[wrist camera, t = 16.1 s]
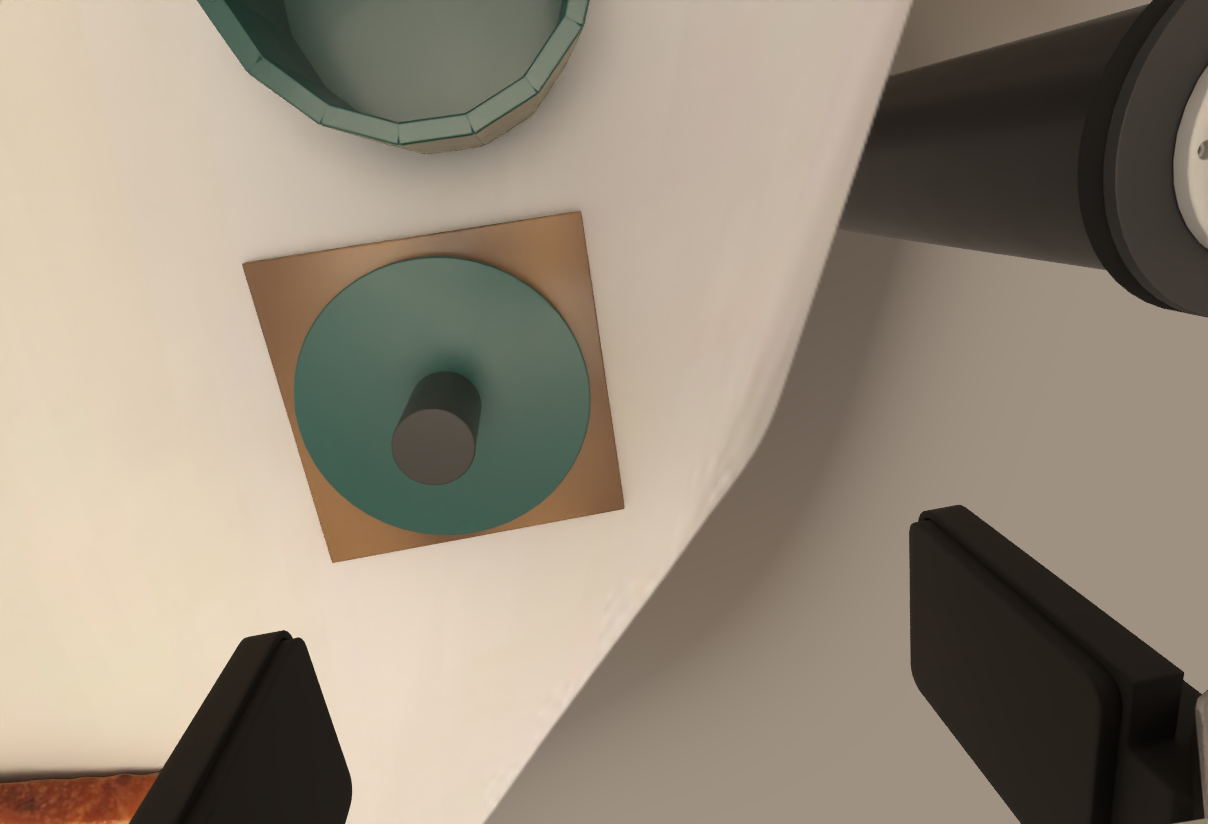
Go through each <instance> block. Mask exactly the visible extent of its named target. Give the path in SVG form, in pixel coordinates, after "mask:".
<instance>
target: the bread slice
mask: <svg viewBox="0 0 1208 824" xmlns="http://www.w3.org/2000/svg"><path fill="white" fill-rule="evenodd" d="M159 773H160V772H156V773H152V774H147V775H134V774H125V773H123V774H118V775H115V776H110V777H89V776H86V777H80V778H75V779H42V780H31V781H24V782H13V783H0V824H129V822H130V820H131V819H132V817H133V816H134V814H135V812H136V811H137V809H138V807H139V806H140V804H141V803H142V801H143V799H144V798H145V796H146V795H147V793H148V791H149V790H150V788H151V786H152V785H153V783H154V782H155V780H156V778H157V777H158V775H159Z"/></svg>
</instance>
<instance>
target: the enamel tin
mask: <svg viewBox="0 0 1208 824" xmlns="http://www.w3.org/2000/svg"><path fill="white" fill-rule="evenodd" d="M197 1H198V3H199V4H200V6H201V7H202V9H203V10H204V11H205V13H206V14H207V16H208V17H209V19H210V20H211V21H212V23H213V24H214V26H215V27H216V29H217V30H218V31H219V33H220V34H221V36H222V37H223V39H224V40H225V41H226V43H227V44H228V46H229V47H230V49H231V50H232V51H233V53H234V54H235V56H236V57H237V59H238V60H239V61H240V63H241V64H242V66H243V67H244V69H245V70H246V71H247V72H248V73H249V74H250V75H251V76H253V77H254V78H255V79H257V80H258V81H260V82H261V83H262V84H264V85H265V86H267V87H268V88H269V89H271V90H272V91H273V92H275V93H276V94H278V95H279V96H280V97H282V98H283V99H285V100H286V101H287V102H289V103H290V104H291V105H293V106H294V107H296V108H297V109H298V110H300V111H301V112H303V113H304V114H305V115H307V116H308V117H310V118H311V119H312V120H314V121H315V122H316V123H318V124H320V125H322V126H325V127H329V128H332V129H336V130H339V131H342V132H346V133H349V134H353V135H356V136H360V137H363V138H366V139H370V140H374V141H377V142H381V143H385V144H389V145H393V146H396V147H400V148H404V149H408V150H411V151H415V152H419V153H423V154H432V153H439V152H446V151H457V150H461V149H467V148H473V147H480V146H483V145H486V144H488V143H489V142H491V141H492V140H494V139H495V138H497V137H499V136H500V135H502V134H504V133H506V132H508V131H509V130H510V129H512V128H513V127H514V126H516V125H517V124H519V123H520V122H522V121H524V120H525V119H527V118H528V117H530V116H531V115H532V114H533V113H534V112H535V110H536V109H537V107H538V106H539V104H540V103H541V101H542V100H543V98H544V97H545V95H546V94H547V93H548V91H549V90H550V88H551V86H552V85H553V83H554V82H555V80H556V79H557V77H558V76H559V74H560V73H561V72H562V70H563V69H564V67H565V65H566V63H567V61H568V59H569V57H570V55H571V52H572V50H573V48H574V46H575V44H576V42H577V40H578V37H579V35H580V33H581V31H582V29H583V26H584V23H585V19H586V14H587V10H588V5H589V1H590V0H197Z"/></svg>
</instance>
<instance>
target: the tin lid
mask: <svg viewBox="0 0 1208 824" xmlns="http://www.w3.org/2000/svg"><path fill="white" fill-rule="evenodd" d="M293 394H294V406H295V414H296V419H297V423H298V427H299V431H300V434H301V436H302V439H303V442H304V444H305V447H306V449H307V451H308V453H309V455H310V456H311V458H312V460H313V462H314V464H315V465H316V467H317V468H318V469H319V471H320V472H321V474H322V475H323V476H324V478H325V479H326V480H327V481H328V482H329V483H330V485H331V486H332V487H333V488H334V489H335V490H336V491H337V492H338V493H339V494H340V495H341V496H343V497H344V498H345V499H346V500H347V501H349V502H350V503H351V504H352V505H354V506H355V507H357V508H358V509H360V510H361V511H363V512H365V513H366V514H368V515H370V516H372V517H374V518H376V519H378V520H380V521H382V522H384V523H386V524H389V525H392V526H395V527H398V528H400V529H404V530H408V531H413V532H417V533H423V534H432V535H461V534H469V533H476V532H480V531H484V530H488V529H492V528H495V527H498V526H500V525H503V524H506V523H508V522H510V521H512V520H514V519H516V518H518V517H520V516H522V515H524V514H526V513H527V512H528V511H530V510H531V509H533V508H534V507H536V506H537V505H539V504H540V503H541V502H542V501H543V500H544V499H546V498H547V497H548V496H549V495H550V494H551V493H552V492H553V491H554V490H555V489H556V488H557V487H558V485H559V484H560V483H561V482H562V481H563V480H564V478H565V477H566V475H567V474H568V472H569V471H570V469H571V468H572V466H573V465H574V463H575V461H576V459H577V457H578V455H579V452H580V450H581V448H582V445H583V442H584V439H585V436H586V433H587V428H588V423H589V417H590V402H591V395H590V384H589V377H588V372H587V368H586V364H585V360H584V358H583V355H582V352H581V350H580V347H579V344H578V342H577V340H576V338H575V336H574V335H573V333H572V331H571V329H570V327H569V326H568V324H567V323H566V321H565V320H564V319H563V317H562V316H561V314H560V313H559V312H558V310H557V309H556V308H555V307H554V306H553V305H552V304H551V303H550V302H549V301H548V300H547V299H546V298H545V297H544V296H543V295H542V294H541V293H539V292H538V291H537V290H536V289H535V288H533V287H532V286H531V285H530V284H528V283H526V282H525V281H523V280H522V279H520V278H518V277H517V276H515V275H514V274H512V273H509V272H507V271H505V270H503V269H501V268H498V267H496V266H494V265H491V264H487V263H484V262H481V261H478V260H474V259H468V258H462V257H456V256H424V257H414V258H409V259H405V260H400V261H396V262H393V263H390V264H388V265H385V266H382V267H379V268H377V269H375V270H373V271H371V272H369V273H367V274H365V275H364V276H362V277H360V278H358V279H357V280H355V281H354V282H352V283H351V284H350V285H348V286H347V287H346V288H344V289H343V290H342V291H340V292H339V293H338V294H337V295H336V296H335V297H334V298H333V299H332V300H331V301H330V302H329V303H328V304H327V305H326V306H325V308H324V309H323V310H322V312H321V313H320V314H319V315H318V317H317V318H316V319H315V321H314V323H313V324H312V326H311V328H310V330H309V332H308V333H307V335H306V337H305V340H304V342H303V345H302V348H301V350H300V353H299V356H298V360H297V365H296V370H295V376H294V391H293Z"/></svg>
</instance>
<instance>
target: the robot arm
mask: <svg viewBox="0 0 1208 824" xmlns="http://www.w3.org/2000/svg"><path fill="white" fill-rule="evenodd" d="M1173 167H1174V188H1175V193H1176V198H1177V202H1178V207H1179V209H1180V212H1181V214H1182V216H1183V219H1184V221H1185V223H1186V225H1187V227H1188V229H1189V230H1190V231H1191V232H1192V234H1193V235H1194V236H1195V238H1196V239H1197V240H1198V242H1199V243H1200V244H1202V245H1203V246H1204V247H1205V248H1207V249H1208V66H1207V67H1206V69H1205V70H1204V72H1203V73H1202V75H1201V76H1200V78H1199V79H1198V81H1197V84H1196V86H1195V88H1194V90H1193V92H1192V94H1191V96H1190V98H1189V100H1188V102H1187V105H1186V107H1185V110H1184V113H1183V117H1182V120H1181V123H1180V126H1179V129H1178V133H1177V139H1176V145H1175V152H1174V159H1173ZM909 546H910V547H909V553H910V635H911V636H910V641H911V642H910V644H911V670H912V675H913V677H914V680H915V683H916V685H917V687H918V689H919V690H920V692H921V693H922V694H923V696H924V697H925V698H926V700H927V701H928V702H929V703H930V705H931V706H932V707H933V709H934V710H935V711H936V713H937V714H938V715H939V717H940V718H941V719H942V721H943V722H944V723H945V725H946V726H947V727H948V728H949V730H950V731H951V732H952V734H953V735H954V736H955V738H956V739H957V740H958V741H959V743H960V744H961V745H962V747H963V748H964V749H965V751H966V752H967V753H968V755H969V756H970V757H971V758H972V760H973V761H974V762H975V764H976V765H977V766H978V768H979V769H980V770H981V772H982V773H983V774H984V775H985V777H986V778H987V779H988V781H989V782H990V783H991V785H992V786H993V787H994V789H995V790H996V791H997V793H998V794H999V795H1000V797H1001V798H1002V799H1003V800H1004V802H1005V803H1006V804H1007V806H1008V807H1009V808H1010V810H1011V811H1012V812H1013V814H1014V815H1015V816H1016V818H1017V819H1018V820H1019V821H1020V823H1021V824H1208V690H1207V691H1206V692H1205V693H1203V694H1201V693H1199V692H1198V691H1197V690H1196V689H1194V688H1193V687H1192V686H1190V685H1189V684H1188V683H1186V682H1185V681H1184V680H1183V677H1184V672H1183V671H1182V670H1180V669H1179V668H1178V667H1176V666H1175V665H1174V664H1172V663H1171V662H1170V661H1168V660H1167V659H1166V658H1164V657H1163V656H1162V655H1161V654H1159V653H1158V652H1157V651H1155V650H1154V649H1153V648H1151V647H1150V646H1149V645H1147V644H1146V643H1145V642H1143V641H1142V640H1141V639H1139V638H1138V637H1137V636H1135V635H1134V634H1133V633H1131V632H1130V631H1129V630H1127V629H1126V628H1125V627H1123V626H1122V625H1121V624H1119V623H1118V622H1117V621H1115V620H1114V619H1113V618H1111V617H1110V616H1109V615H1108V614H1106V613H1105V612H1104V611H1102V610H1101V609H1099V608H1098V607H1097V606H1096V605H1094V604H1093V603H1091V602H1090V601H1089V600H1088V599H1086V598H1085V597H1084V596H1082V595H1081V594H1080V593H1078V592H1077V591H1076V590H1074V589H1073V588H1072V587H1070V586H1069V585H1068V584H1066V583H1065V582H1064V581H1062V580H1061V579H1060V578H1058V577H1057V576H1056V575H1054V574H1053V573H1052V572H1051V571H1049V570H1048V569H1046V568H1045V567H1044V566H1043V565H1041V564H1040V563H1038V562H1037V561H1036V560H1035V559H1033V558H1032V557H1031V556H1029V555H1028V554H1027V553H1025V552H1024V551H1023V550H1021V549H1020V548H1019V547H1017V546H1016V545H1015V544H1013V543H1012V542H1011V541H1009V540H1008V539H1007V538H1005V537H1004V536H1003V535H1001V534H1000V533H998V531H996V530H995V529H994V528H992V527H991V526H989V525H988V524H987V523H985V522H984V521H983V520H982V519H980V518H979V517H978V516H976V515H975V514H974V513H972V512H971V511H969V510H968V509H967V508H966V507H964V506H962V505H955V506H950V507H945V508H939V509H933V510H928V511H923V512H922V513H921V514H920V517H919V520H918V522H915V523H913V524H911V526H910V531H909ZM351 800H352V782H351V777H350V773H349V770H348V767H347V764H346V761H345V759H344V756H343V753H342V750H341V747H340V744H339V741H338V738H337V735H336V732H335V729H334V726H333V723H332V720H331V717H330V714H329V712H328V709H327V706H326V703H325V700H324V697H323V694H322V691H321V688H320V685H319V682H318V679H317V676H316V673H315V670H314V667H313V664H312V662H311V659H310V656H309V653H308V650H307V647H306V645H305V642H304V641H303V640H302V639H301V638H294V639H293V638H292V636H291V635H290V634H289V632H287V631H285V630H283V631H278V632H272V633H267V634H261V635H256V636H251V637H247V638H244V639H243V640H242V641H241V642H240V644H239V645H238V647H237V648H236V650H235V652H234V653H233V655H232V657H231V658H230V660H229V661H228V663H227V665H226V666H225V668H224V670H223V671H222V673H221V674H220V676H219V678H218V679H217V681H216V683H215V684H214V686H213V687H212V689H211V691H210V692H209V694H208V696H207V697H206V699H205V700H204V702H203V704H202V705H201V707H200V709H199V710H198V712H197V713H196V715H195V717H194V718H193V720H192V721H191V723H190V725H189V726H188V728H187V730H186V731H185V733H184V734H183V736H182V738H181V739H180V741H179V743H178V744H177V746H176V747H175V749H174V751H173V752H172V754H171V756H170V757H169V759H168V760H167V762H166V764H165V765H164V767H163V769H162V770H161V772H160V773H159V775H158V777H157V778H156V780H155V782H154V783H153V785H152V786H151V788H150V790H149V791H148V793H147V795H146V796H145V798H144V799H143V801H142V803H141V804H140V806H139V807H138V809H137V811H136V812H135V814H134V816H133V817H132V819H131V820H130V822H129V824H345V822H346V819H347V815H348V812H349V808H350V805H351Z"/></svg>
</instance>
